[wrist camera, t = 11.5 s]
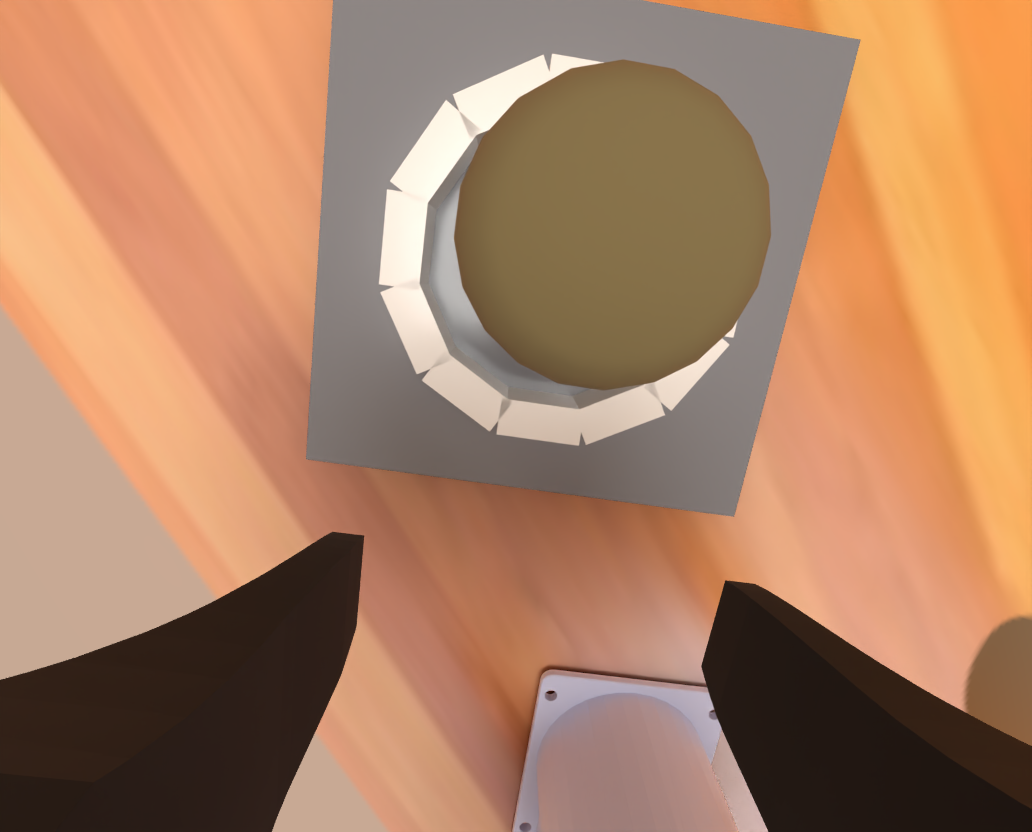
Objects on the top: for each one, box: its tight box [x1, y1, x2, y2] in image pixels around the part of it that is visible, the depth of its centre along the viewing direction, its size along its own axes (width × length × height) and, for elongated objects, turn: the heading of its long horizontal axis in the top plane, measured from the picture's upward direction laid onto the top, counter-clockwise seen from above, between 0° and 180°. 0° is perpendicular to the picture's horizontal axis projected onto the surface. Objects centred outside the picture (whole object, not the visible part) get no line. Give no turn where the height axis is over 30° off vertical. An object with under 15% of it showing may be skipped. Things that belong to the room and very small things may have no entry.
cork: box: [454, 59, 771, 390], centre depth 13 cm, size 6×6×11 cm
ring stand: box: [306, 0, 860, 517], centre depth 18 cm, size 16×16×3 cm
